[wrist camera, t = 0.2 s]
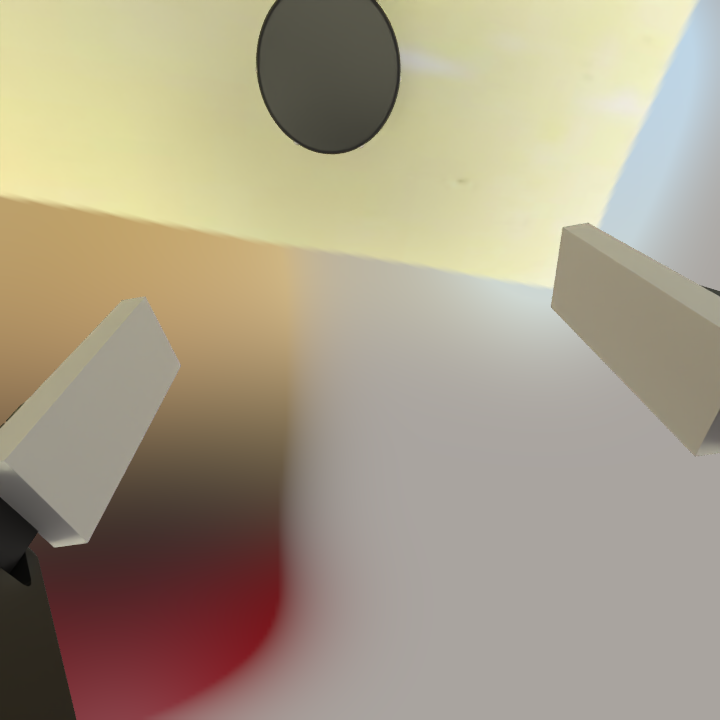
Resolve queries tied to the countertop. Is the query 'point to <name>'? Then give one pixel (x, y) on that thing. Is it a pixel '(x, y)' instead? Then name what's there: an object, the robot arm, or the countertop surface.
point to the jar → (328, 71)
